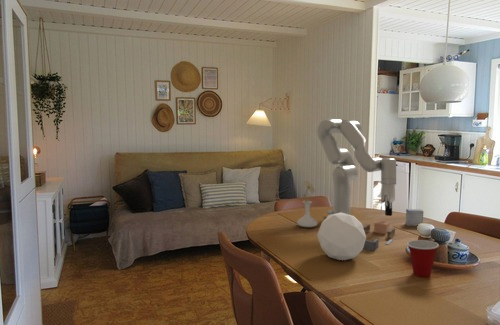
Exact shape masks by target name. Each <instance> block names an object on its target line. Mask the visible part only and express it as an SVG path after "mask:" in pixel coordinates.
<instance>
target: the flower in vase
mask: <svg viewBox="0 0 500 325" xmlns="http://www.w3.org/2000/svg"><path fill="white" fill-rule="evenodd" d="M304 185H305V187H306V190H305V193H303V197H304V198H305V200H303V201H302V203H303V205H304V210H305V211H304V215H303V216H302V217H300V218H299V219H298V220H297V221H296V224H297V226H298V227H302V228H314V227H316V226H317V225H318V221H317V220H316V219H315V218H314V217H312V216H311V214H310V208H311V204H312V203H313V201H311V200H308V199H309V198H311V195H309V196H308V197H307V191H309V192H310V193H313V194H314V193H315V188H314V185H313V184H311V182H310V181H308V180H305V181H304Z"/></svg>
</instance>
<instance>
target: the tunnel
mask: <svg viewBox="0 0 500 325" xmlns="http://www.w3.org/2000/svg"><path fill="white" fill-rule="evenodd" d="M363 228H364V232H365V235H366V234H368V233H369V232H370V231H371V224H370V223H367V224H365V225H363ZM395 232H396V228H395V227H391V228H389V231H387V234H386V235H387V236H386V239H388V240H390V239H392V238H393V237H394V236H395V235H396V233H395Z"/></svg>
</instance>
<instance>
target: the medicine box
mask: <svg viewBox="0 0 500 325" xmlns="http://www.w3.org/2000/svg"><path fill="white" fill-rule="evenodd" d="M405 212H406V213H405V225H407V227H408V226H409V227H413V226H414V227H418V226H417V225H418V224H420V223H423V224H424V212H425V211H424V210H423V209H422V208H421V209H420V208H406V209H405Z"/></svg>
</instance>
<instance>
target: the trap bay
mask: <svg viewBox="0 0 500 325" xmlns="http://www.w3.org/2000/svg"><path fill="white" fill-rule="evenodd" d="M379 242H380V241H379V238H375V239H374V240H368V239H366V240H365V243H364V247H363V250H365V251H370V250H371V252H376V250H377V249H379Z"/></svg>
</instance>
